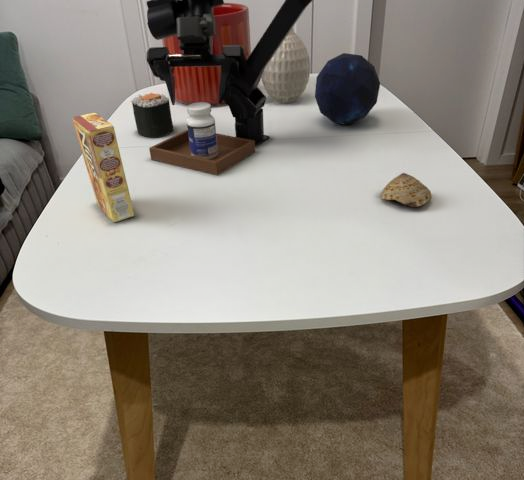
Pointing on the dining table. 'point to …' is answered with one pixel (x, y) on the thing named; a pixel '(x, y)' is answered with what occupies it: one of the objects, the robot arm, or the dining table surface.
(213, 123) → the pill bottle
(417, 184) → the seashell
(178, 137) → the tray
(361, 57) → the decorative orb
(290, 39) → the vase
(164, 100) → the sushi
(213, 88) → the planter
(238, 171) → the dining table surface
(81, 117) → the candy box
